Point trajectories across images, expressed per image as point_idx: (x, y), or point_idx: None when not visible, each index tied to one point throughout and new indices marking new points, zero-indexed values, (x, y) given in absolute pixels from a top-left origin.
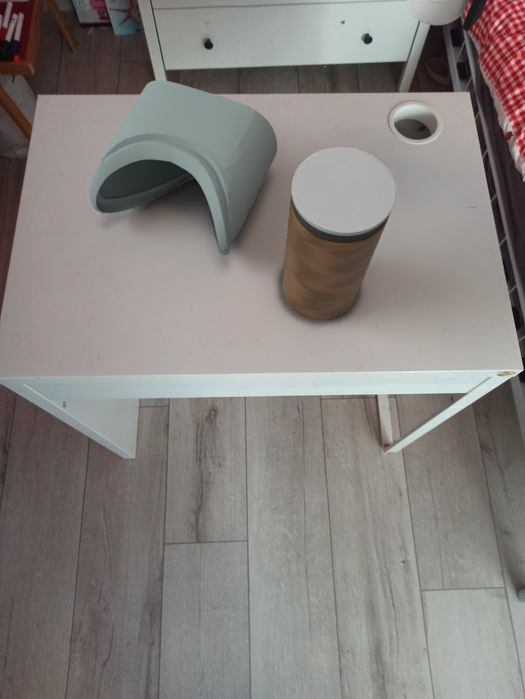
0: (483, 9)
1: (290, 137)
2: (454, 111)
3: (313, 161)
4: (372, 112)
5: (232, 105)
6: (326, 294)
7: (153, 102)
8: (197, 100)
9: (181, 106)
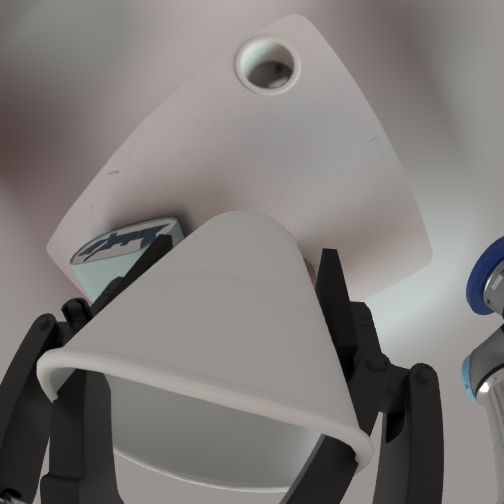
0: (338, 257)
1: (168, 163)
2: (298, 28)
3: None
4: (217, 80)
5: (123, 261)
6: None
7: (88, 286)
8: (103, 271)
9: (101, 282)
